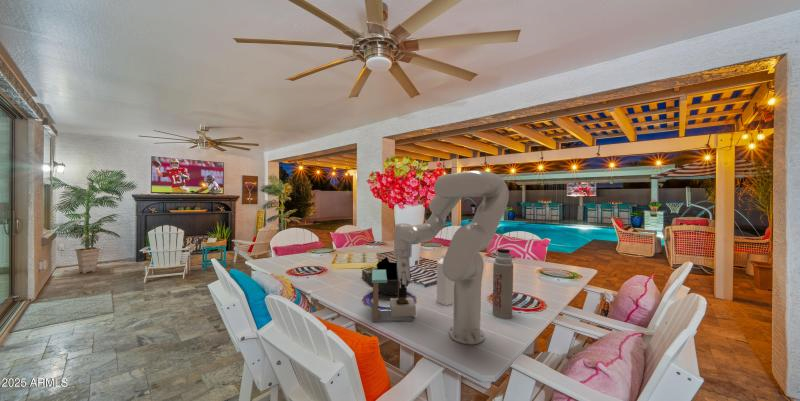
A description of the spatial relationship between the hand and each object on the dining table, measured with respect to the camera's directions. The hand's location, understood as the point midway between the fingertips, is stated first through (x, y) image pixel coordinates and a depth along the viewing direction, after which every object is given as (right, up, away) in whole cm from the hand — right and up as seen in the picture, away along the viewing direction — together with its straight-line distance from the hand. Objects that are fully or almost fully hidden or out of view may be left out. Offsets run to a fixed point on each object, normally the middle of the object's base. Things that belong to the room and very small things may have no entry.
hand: (402, 294), depth 126 cm
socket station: (-4, -8, 0) cm, 9 cm away
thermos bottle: (+43, -9, 0) cm, 44 cm away
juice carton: (-16, -7, +44) cm, 47 cm away
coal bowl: (-5, -7, +24) cm, 25 cm away
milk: (+21, -8, +13) cm, 26 cm away
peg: (0, -4, 0) cm, 4 cm away
